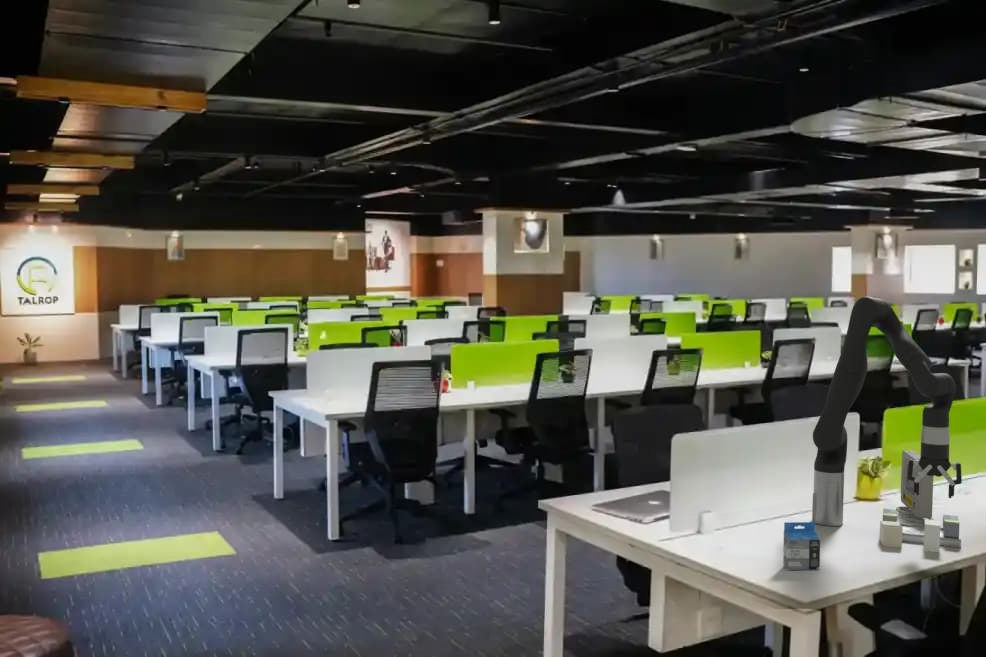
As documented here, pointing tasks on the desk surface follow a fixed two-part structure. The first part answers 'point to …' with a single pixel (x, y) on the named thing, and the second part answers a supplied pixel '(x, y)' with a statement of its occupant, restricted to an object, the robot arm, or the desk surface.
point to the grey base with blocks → (916, 532)
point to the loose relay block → (891, 534)
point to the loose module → (932, 536)
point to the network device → (915, 503)
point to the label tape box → (801, 546)
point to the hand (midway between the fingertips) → (933, 496)
